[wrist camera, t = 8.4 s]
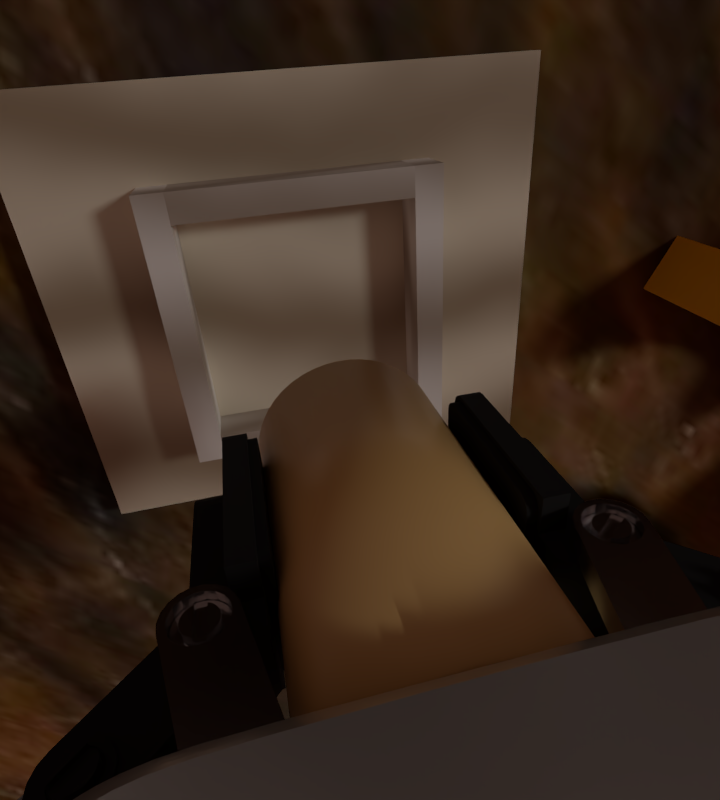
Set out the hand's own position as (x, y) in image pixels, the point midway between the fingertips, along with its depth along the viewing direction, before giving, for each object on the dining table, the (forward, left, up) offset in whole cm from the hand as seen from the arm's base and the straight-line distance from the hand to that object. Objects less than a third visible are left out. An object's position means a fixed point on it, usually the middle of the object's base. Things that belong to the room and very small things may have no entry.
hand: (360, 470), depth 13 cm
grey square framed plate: (0, 0, -11) cm, 11 cm away
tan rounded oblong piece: (0, 0, -1) cm, 1 cm away
